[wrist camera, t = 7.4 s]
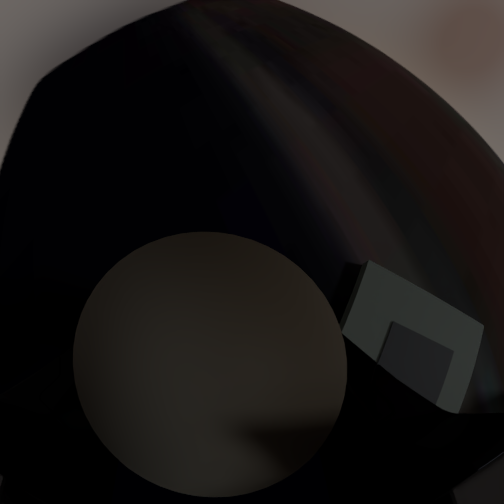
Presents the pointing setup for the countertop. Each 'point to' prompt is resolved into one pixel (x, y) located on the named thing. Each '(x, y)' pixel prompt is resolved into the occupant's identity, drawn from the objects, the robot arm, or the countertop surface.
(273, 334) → the ash sleeve
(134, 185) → the countertop surface
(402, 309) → the sage board
